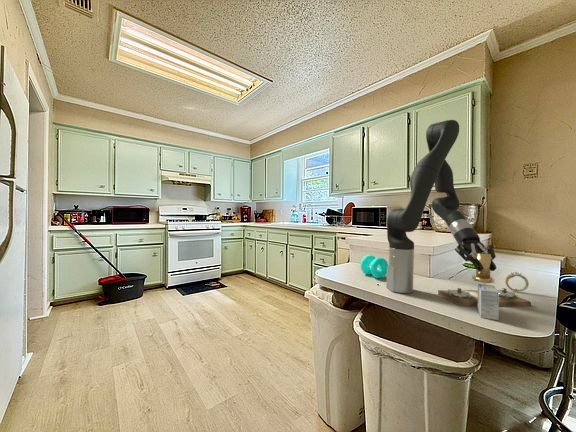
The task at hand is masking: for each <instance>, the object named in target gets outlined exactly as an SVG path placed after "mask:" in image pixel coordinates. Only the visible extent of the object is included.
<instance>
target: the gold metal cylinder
mask: <svg viewBox="0 0 576 432" xmlns="http://www.w3.org/2000/svg"><path fill="white" fill-rule="evenodd" d="M476 257H477V260H479V262H480V263H481V265H482V266H483V270H481V271H478V270H477V269H476V268H475V274H474V275H471V279H472V280H473V282H478V283H483V284H495V279H494V278H493V277H492V276H491V270H490V267H491V254H488V253H476Z"/></svg>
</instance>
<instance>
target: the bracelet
mask: <svg viewBox="0 0 576 432" xmlns="http://www.w3.org/2000/svg"><path fill="white" fill-rule="evenodd" d="M522 274H523V273H522V272H520V273H519V272H518V271H514V272H513V271H512V272H511V273H509V274H507V276H506V277H505V280H504V281H505V284H506V285H505V286H506V287H508V289H509V290H511V291H512V292H514V293H515V292H516V293H519V292H524V291H526V290H527V289H528V287H529V285H530V284H529V280H528V278H527V276H524V275H522ZM515 277H519V278H521V279H523V281H524V283H525V285H524V287H523V288H520V289H517V288H513V287H511V286H510V284H509V280H510V279H512V278H515Z"/></svg>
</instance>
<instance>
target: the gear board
mask: <svg viewBox="0 0 576 432" xmlns="http://www.w3.org/2000/svg"><path fill="white" fill-rule="evenodd" d="M448 290H449V289H448ZM448 290H447V289H446V290H445V289H443V290H441V289H440V290H438V292H437V295H439V296H441V297H442V298H444V299H446V300H449V302H452V303H454V304H456V306H460V307H478V289H477V290H476V289H475V290H472V289H471V290H467V289H466V290H465V289H464V290H463V289H461V291H464V292H469V293H470V295H471V299H468V298H462V299H459V298H458V297H454V296H449V293H448ZM531 306H532V302H531V301H530V300H528V299H524V298H522V297H520V296H518V297H517V299H515V298H509V299H506V298H503V297H499V307H531Z"/></svg>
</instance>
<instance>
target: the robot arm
mask: <svg viewBox="0 0 576 432" xmlns="http://www.w3.org/2000/svg"><path fill="white" fill-rule="evenodd" d="M459 135H460V124H459V122H458V121H457V120H455V119H447V120H443V121H439V122H435V123H432V124H430V125H428V127H427V128H426V132H425V138H426V144H427V149H428V153H427V154H426V155H424V156H423V157H422V158H421V159H420V160H419V161H418V162H417V164H415V167H414V169H413V171H412V173H411V176H410V178H409V185H410V192H411V193H410V199H409V201H408V203H407V205H406V206H405V208H393V209H392V210H391V211H389V213H388V215H387V218H386V230H387V231H386V233H387V236H386V237H387V242H388V245H389V247H388V249H389V251H388V265H387V274H386V283H385V284H386V289H388V290H389V291H390V292H391V293H400V294H412V293H413V292H414V274H415V273H414V266H415V263H414V261H415V243H414V241H413V240H412V239H410V238H409V237H408V236H407V233H411V232H414V231H416V230H417V229H418V227H419V225H420V223H421V220H422V217H423V213H424V211H425V207H426V205H427V202H428V199H429V198H430V194H431V192H432V190H433V187H434V188H435V189H434V190H435V191H436V192H437V193H445V194H446V196H444V197H443V196H442V197H437V198H435V199H433V200H432V202H431V209H432V211H433V212H434V213H435V215H437V216H438V217H439V218H440V219H441V220H443V221H444V222H445V223H446V225H447V227H448V228H449V230H450V233H451V235H452V236H453V238H454V239H455V241H456V243H457V244H458V245H457V246H456V247H455V248H454V251H455V252H456V253H457V254H458V255H459V256H460V258H462V259H463V260H464V261H465V262H469V263H472V265H473V266H474V268H475V270H476V269H477V270H478V271H481V270H483V266H482V265H481V263H480V262H479V260H477V257H476V253H488V254H491V267H490V272H494V271H496V270H497V265H496V264H495V262H494V261H493V260H495V259H496V258H497V256H496V254H495V250H494V247H493V245H491V244H489V245H485V244H484V243H482V242H481V238H480V236H479V234H478V233H477V231H476V230H475V229H474V227H473V226H472V224H471V223H470V222H469V221H468V220H467V218H466V216H464V214H463V213H462V212H461V211H459V210H458V209H459V207H460V205H461V204H460V200H459V198H458V195H457V193H456V189H455V187H454V185H455V184H454V172H453V169H452V167H451V165H450V164H449V162H448V161H447V160H446V158H447V156H448V154H449V153H450V151H451V149H452V148H453V146H454V144H455V142H456V141H457V138H458V136H459Z"/></svg>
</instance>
